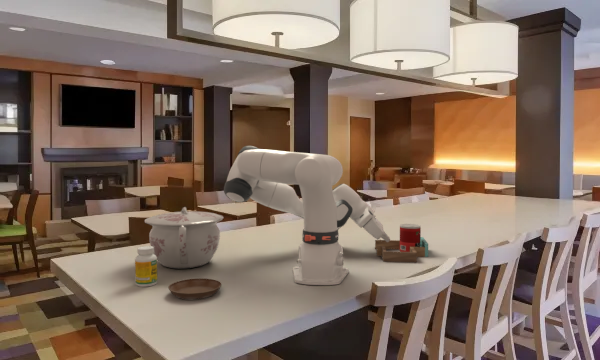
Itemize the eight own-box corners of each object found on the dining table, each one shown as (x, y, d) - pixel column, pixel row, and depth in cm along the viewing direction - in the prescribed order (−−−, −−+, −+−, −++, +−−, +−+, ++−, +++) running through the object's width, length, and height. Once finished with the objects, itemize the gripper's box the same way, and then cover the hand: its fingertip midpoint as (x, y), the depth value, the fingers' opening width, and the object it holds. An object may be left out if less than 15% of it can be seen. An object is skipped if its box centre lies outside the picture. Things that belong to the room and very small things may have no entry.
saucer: (200, 283, 137) (200, 274, 137) (232, 293, 128) (232, 283, 128) (158, 295, 126) (157, 285, 126) (188, 307, 117) (188, 296, 116)
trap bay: (416, 262, 160) (416, 252, 160) (383, 261, 162) (383, 252, 162) (413, 256, 169) (413, 247, 169) (381, 255, 171) (381, 246, 170)
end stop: (428, 256, 169) (428, 243, 168) (424, 256, 169) (425, 243, 168) (422, 249, 181) (422, 237, 181) (419, 249, 181) (419, 237, 181)
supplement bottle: (139, 281, 139) (138, 245, 138) (159, 280, 139) (158, 245, 139) (132, 287, 133) (131, 250, 132) (154, 287, 133) (153, 249, 132)
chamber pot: (183, 252, 178) (182, 201, 177) (239, 259, 166) (238, 204, 164) (126, 269, 153) (124, 209, 152) (187, 279, 141) (186, 214, 139)
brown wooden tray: (424, 256, 169) (425, 247, 168) (376, 255, 171) (376, 246, 171) (419, 249, 181) (419, 240, 181) (375, 248, 184) (375, 239, 183)
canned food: (419, 255, 170) (420, 227, 169) (398, 254, 173) (398, 226, 172) (420, 251, 177) (421, 224, 177) (400, 250, 180) (400, 223, 179)
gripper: (359, 217, 188) (382, 240, 187) (357, 225, 168) (384, 251, 167) (369, 206, 187) (393, 230, 186) (369, 214, 167) (396, 240, 166)
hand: (389, 240), depth 176 cm, fingers closed
